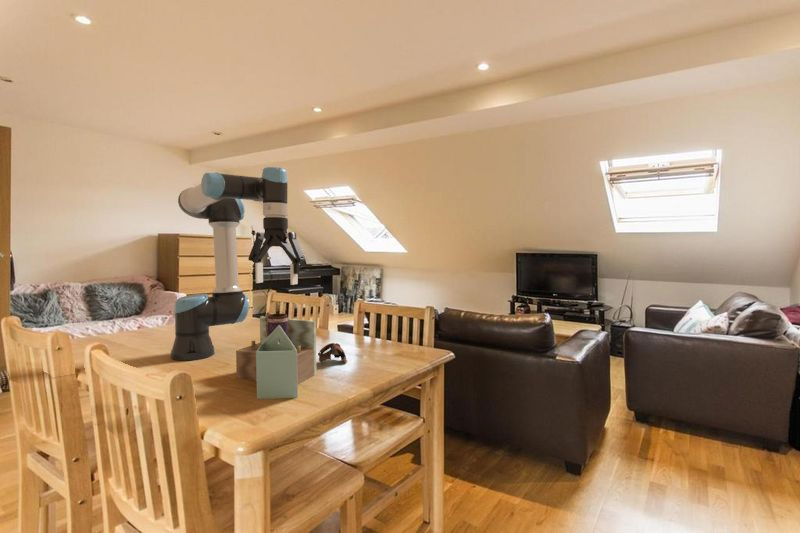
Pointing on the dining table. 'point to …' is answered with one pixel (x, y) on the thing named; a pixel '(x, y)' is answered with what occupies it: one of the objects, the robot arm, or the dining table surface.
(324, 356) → the brown arched figurine
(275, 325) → the mug
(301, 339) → the wall shelf
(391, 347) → the dining table surface
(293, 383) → the planter
